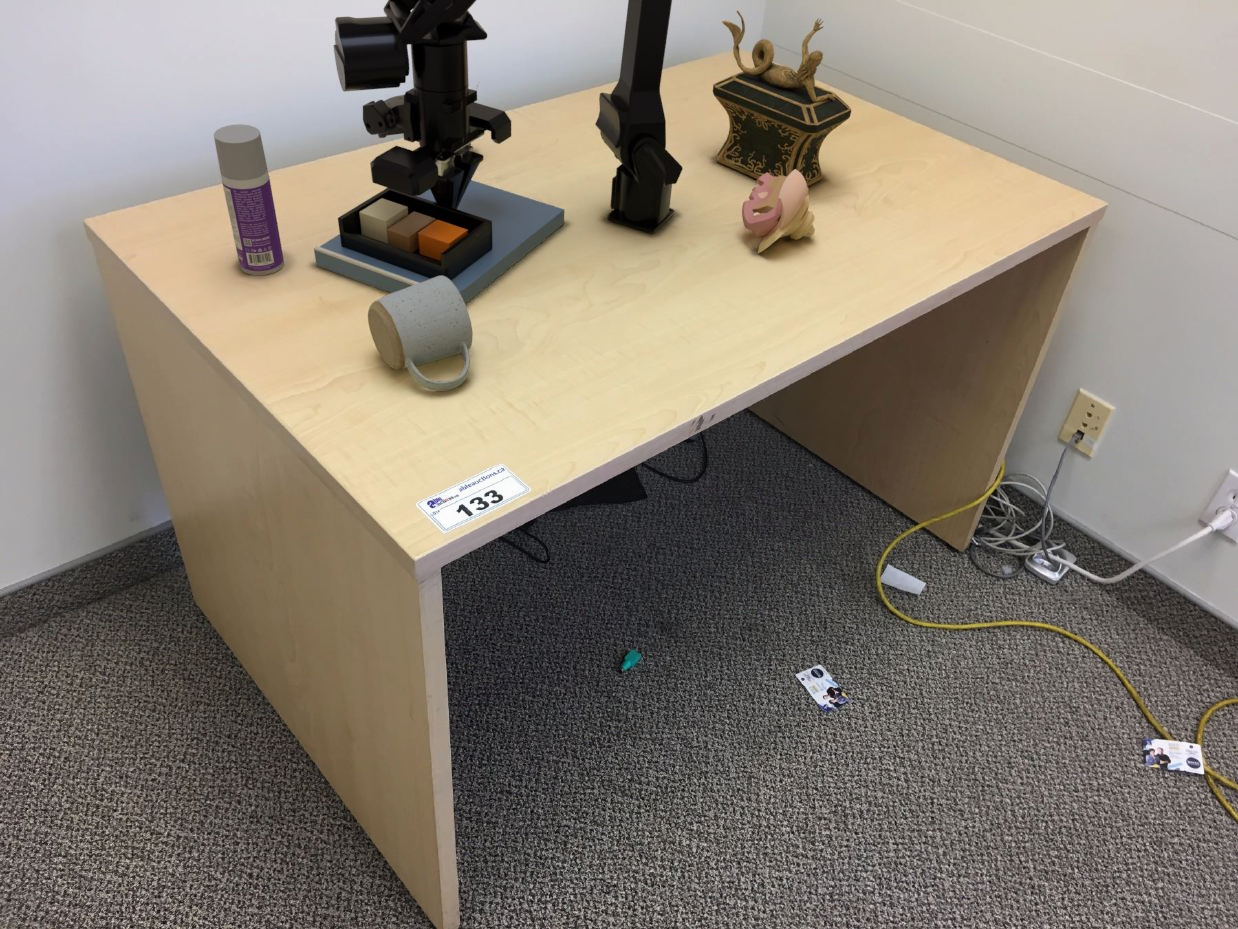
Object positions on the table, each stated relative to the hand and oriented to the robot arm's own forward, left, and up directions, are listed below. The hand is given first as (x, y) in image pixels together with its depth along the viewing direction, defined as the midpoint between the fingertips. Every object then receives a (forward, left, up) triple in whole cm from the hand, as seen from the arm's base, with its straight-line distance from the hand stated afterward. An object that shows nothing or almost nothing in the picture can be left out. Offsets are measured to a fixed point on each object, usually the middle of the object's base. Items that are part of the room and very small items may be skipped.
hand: (447, 217), depth 115 cm
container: (+14, +16, -3) cm, 21 cm away
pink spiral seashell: (-32, -22, -3) cm, 39 cm away
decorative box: (-23, -41, -3) cm, 47 cm away
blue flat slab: (0, +1, -3) cm, 3 cm away
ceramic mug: (-12, +21, -3) cm, 24 cm away
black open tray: (0, +6, -1) cm, 6 cm away
